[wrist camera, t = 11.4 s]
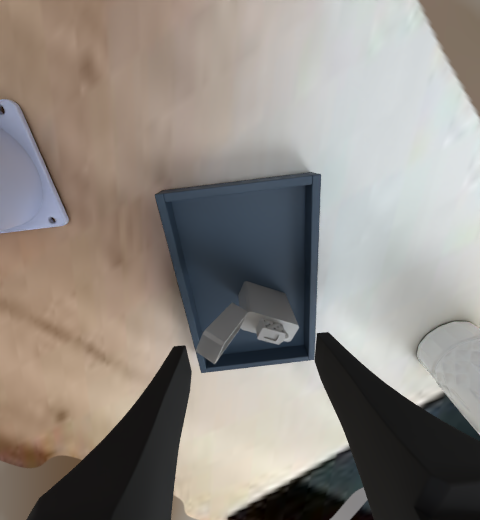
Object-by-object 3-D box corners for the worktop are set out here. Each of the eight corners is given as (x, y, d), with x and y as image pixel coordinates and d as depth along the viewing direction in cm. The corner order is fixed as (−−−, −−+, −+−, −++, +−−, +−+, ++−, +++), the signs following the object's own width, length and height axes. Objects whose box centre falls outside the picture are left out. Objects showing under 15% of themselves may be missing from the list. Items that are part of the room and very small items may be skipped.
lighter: (286, 293, 21) (318, 368, 13) (278, 308, 21) (304, 387, 14) (212, 270, 19) (202, 339, 12) (206, 286, 20) (193, 361, 13)
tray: (203, 357, 24) (201, 373, 22) (162, 190, 17) (154, 194, 15) (308, 344, 24) (314, 360, 22) (311, 172, 17) (321, 174, 15)
